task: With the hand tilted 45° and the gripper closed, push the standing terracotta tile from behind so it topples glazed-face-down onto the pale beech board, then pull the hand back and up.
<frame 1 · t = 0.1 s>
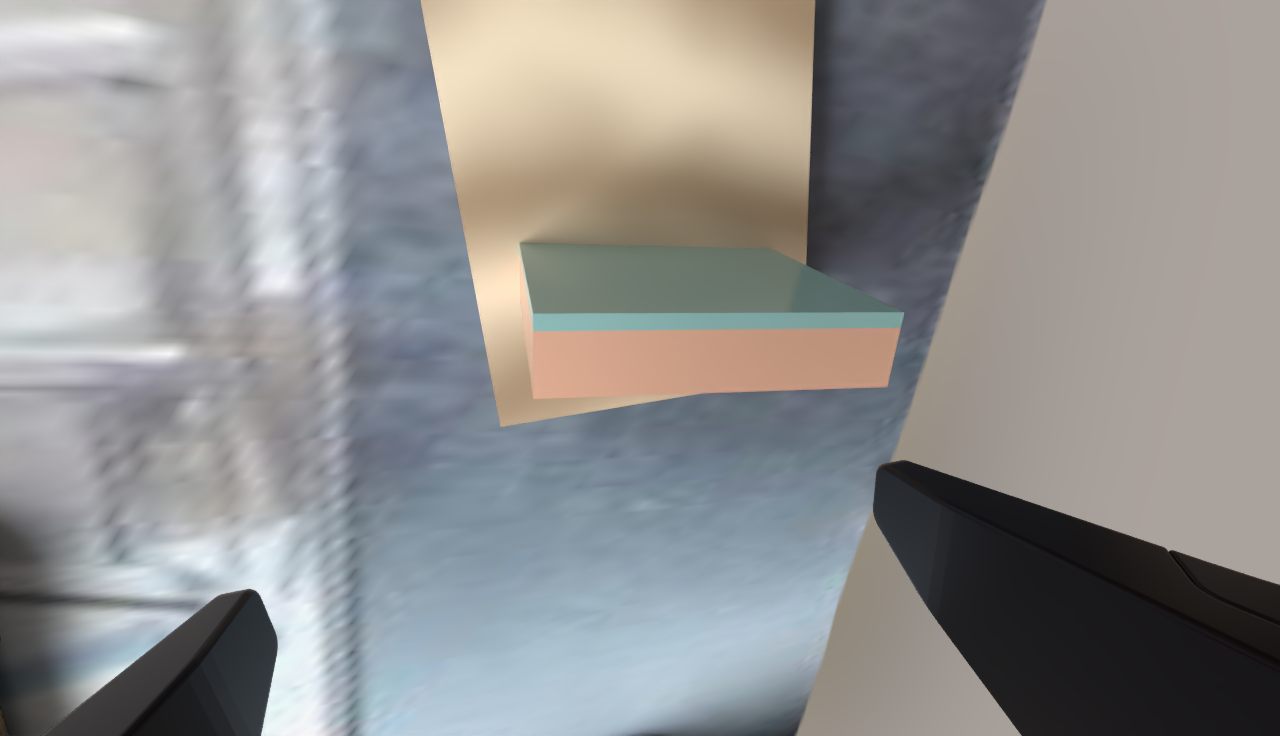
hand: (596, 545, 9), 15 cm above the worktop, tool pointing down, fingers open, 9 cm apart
beech board: (637, 204, 22), on the worktop
terracotta tile: (649, 274, 22), point 1 cm above the worktop, touching beech board
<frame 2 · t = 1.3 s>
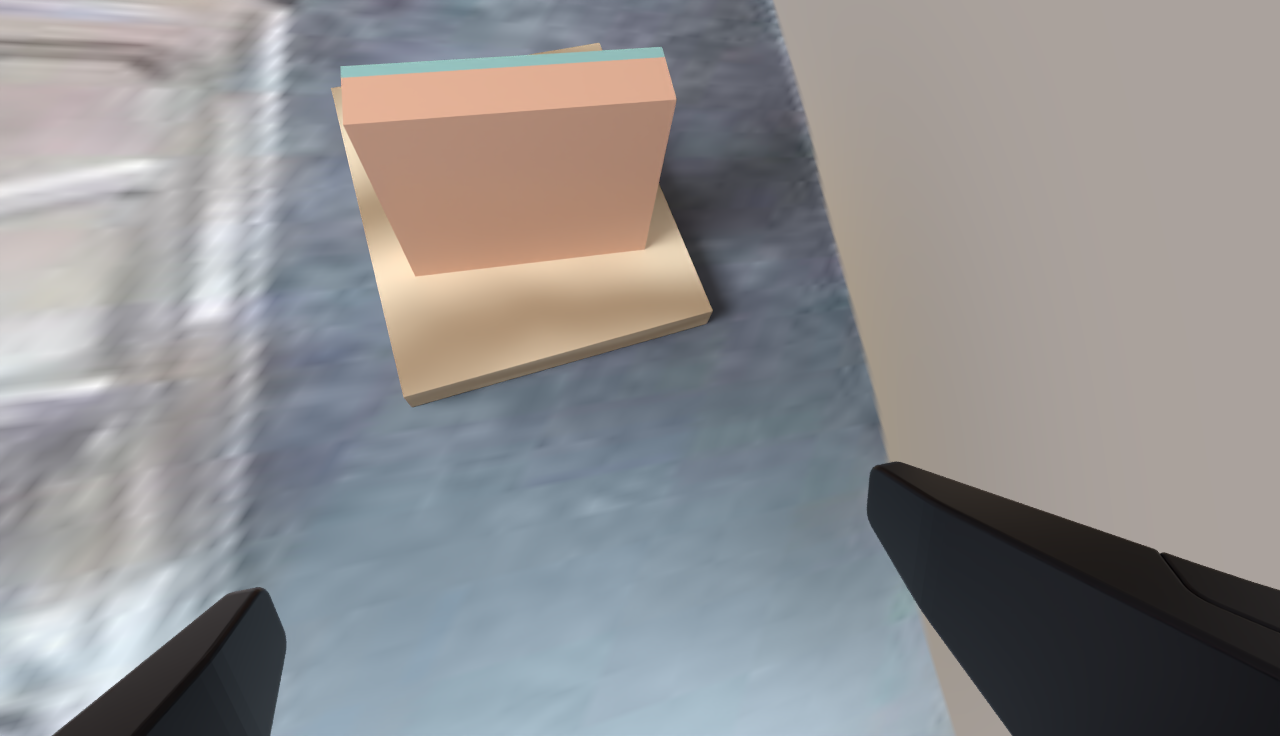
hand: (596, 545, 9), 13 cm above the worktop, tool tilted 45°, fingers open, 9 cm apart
beech board: (517, 212, 26), on the worktop
terracotta tile: (530, 240, 24), point 1 cm above the worktop, touching beech board
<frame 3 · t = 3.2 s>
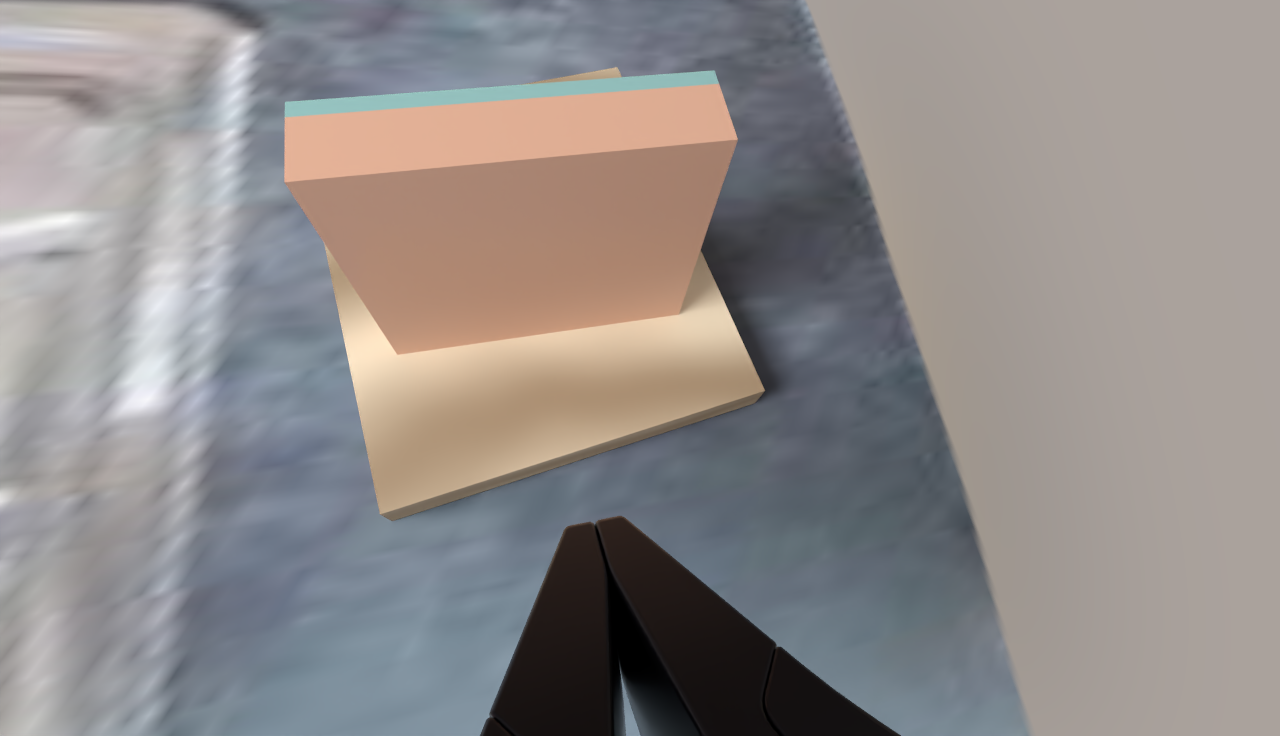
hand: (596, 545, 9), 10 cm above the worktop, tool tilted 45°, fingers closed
beech board: (522, 269, 22), on the worktop
terracotta tile: (538, 306, 20), point 1 cm above the worktop, touching beech board
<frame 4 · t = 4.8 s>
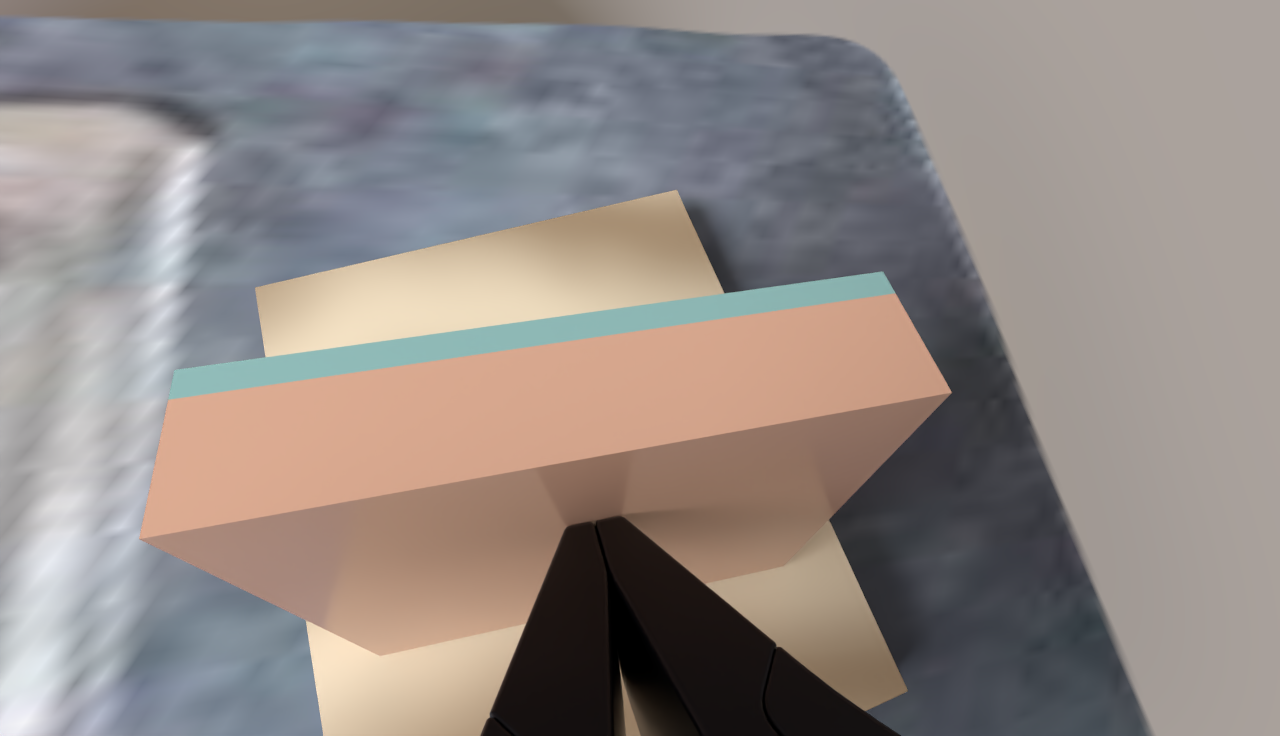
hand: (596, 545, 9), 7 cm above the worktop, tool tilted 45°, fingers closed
beech board: (558, 484, 16), on the worktop
terracotta tile: (585, 563, 14), point 1 cm above the worktop, tilted 10°, touching beech board
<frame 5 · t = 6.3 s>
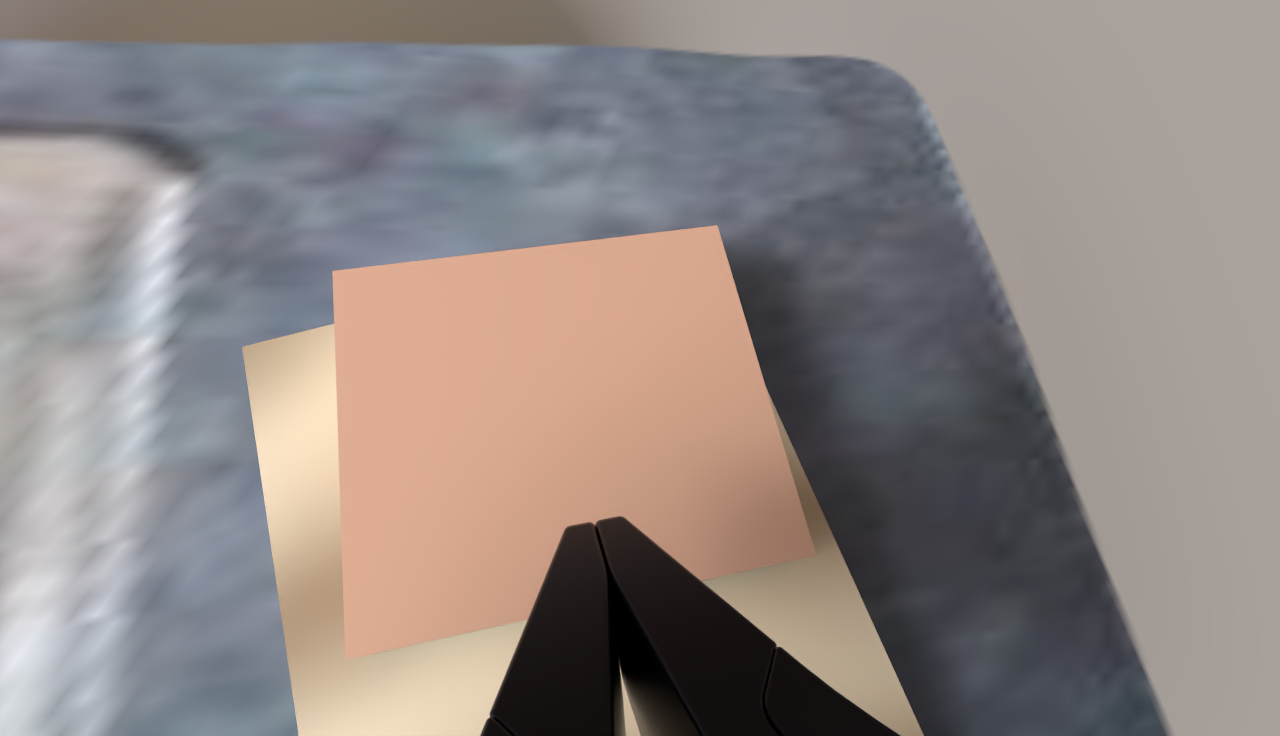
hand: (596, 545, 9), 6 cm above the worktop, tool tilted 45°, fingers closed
beech board: (570, 560, 15), on the worktop
terracotta tile: (594, 604, 12), point 2 cm above the worktop, tilted 90°, touching beech board
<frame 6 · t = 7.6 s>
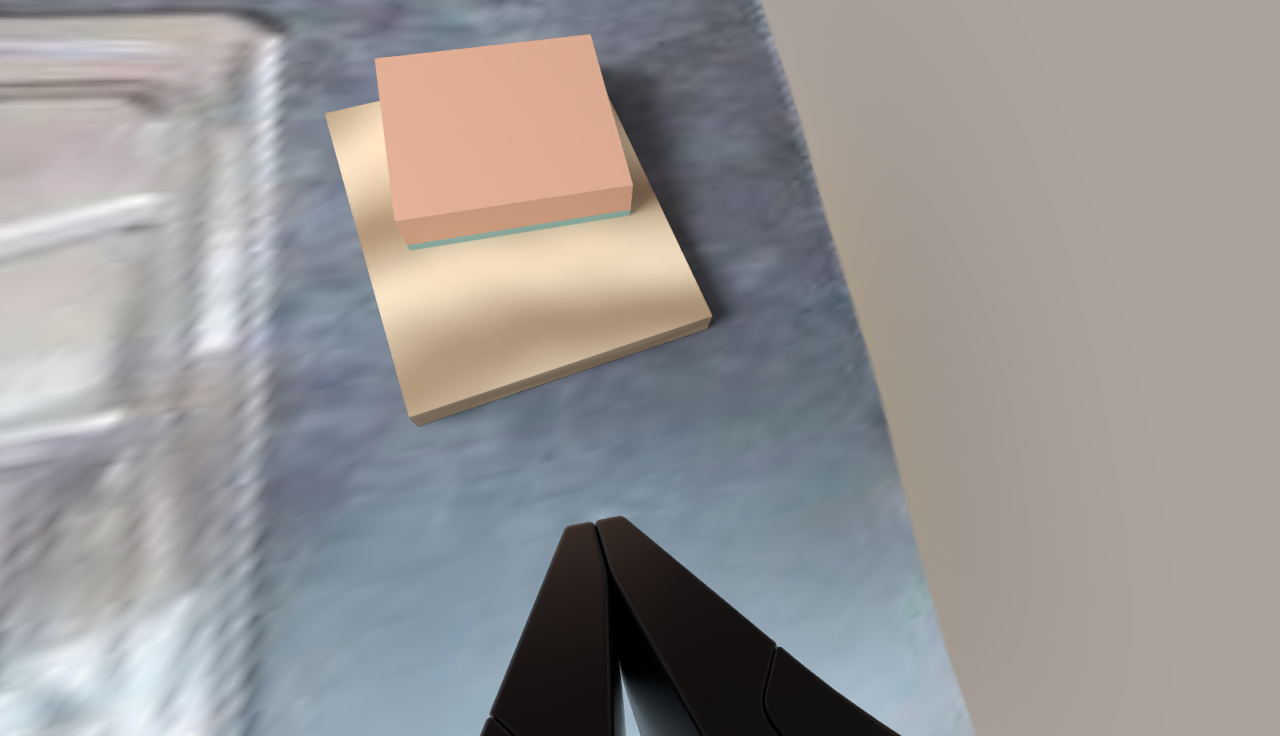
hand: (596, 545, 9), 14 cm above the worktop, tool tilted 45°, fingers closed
beech board: (513, 227, 26), on the worktop
terracotta tile: (520, 218, 24), point 2 cm above the worktop, tilted 90°, touching beech board
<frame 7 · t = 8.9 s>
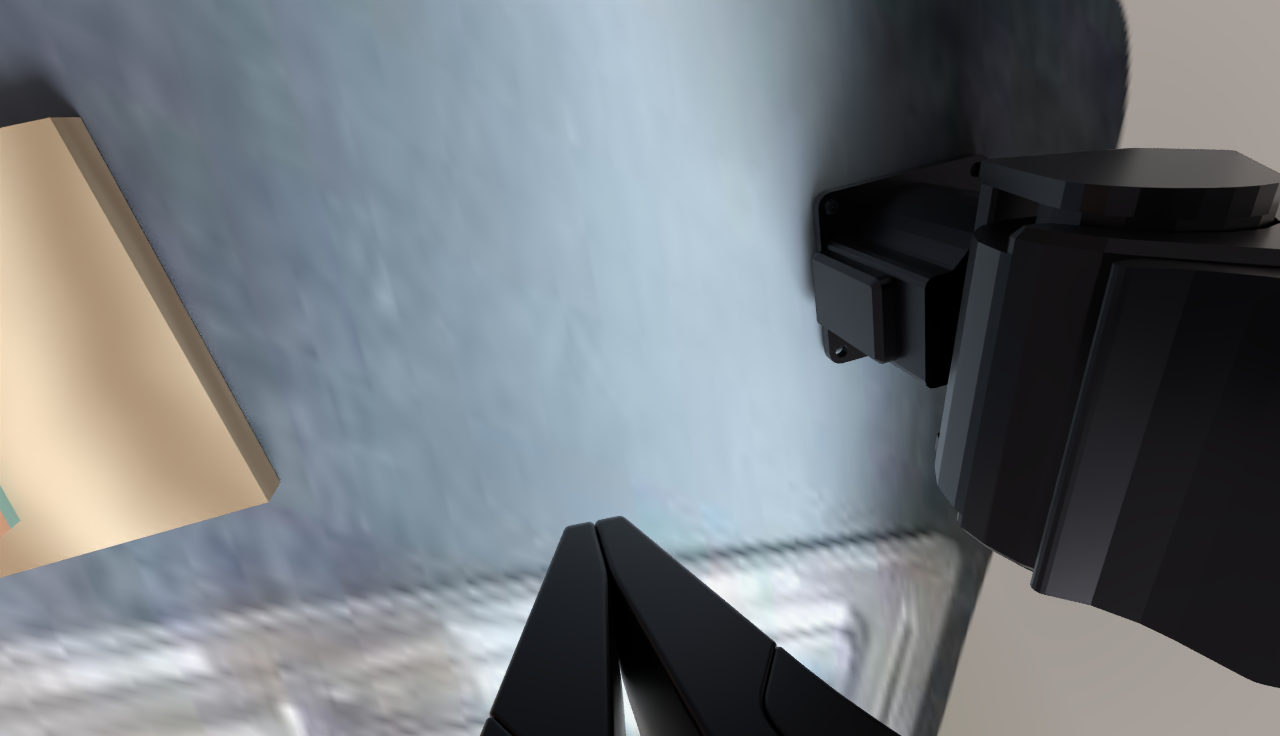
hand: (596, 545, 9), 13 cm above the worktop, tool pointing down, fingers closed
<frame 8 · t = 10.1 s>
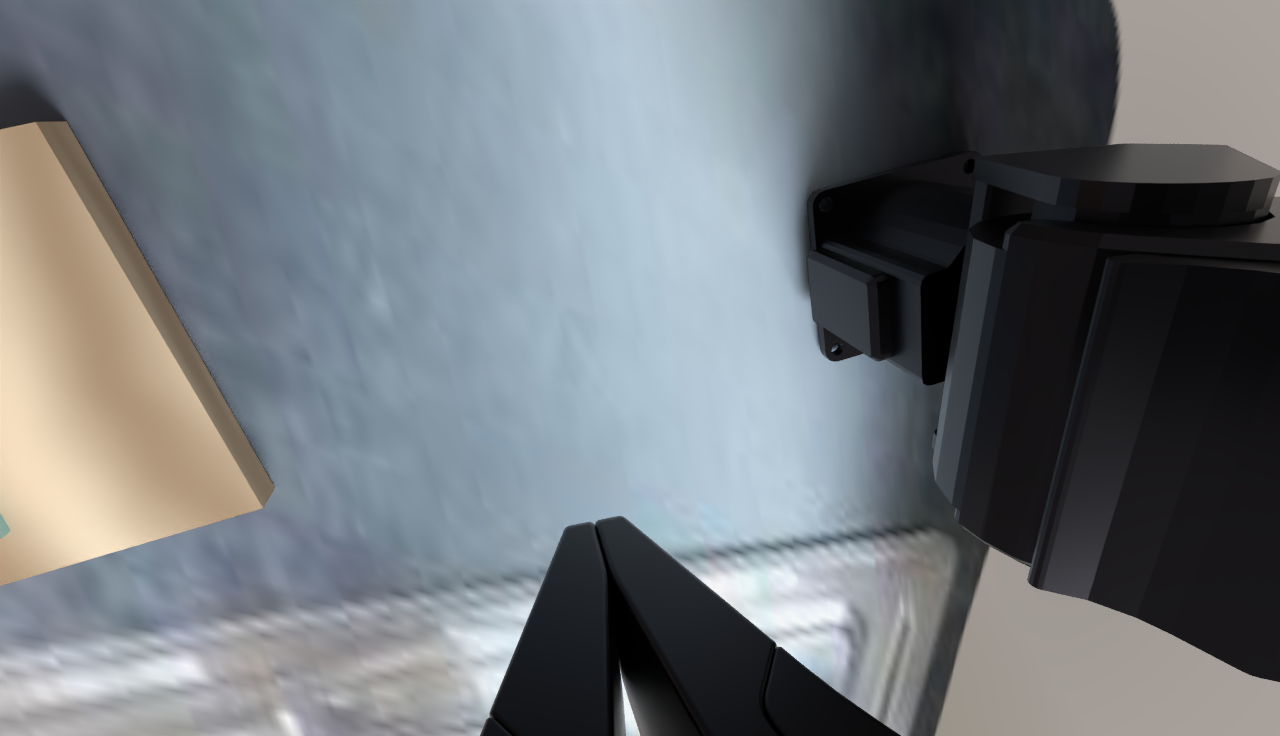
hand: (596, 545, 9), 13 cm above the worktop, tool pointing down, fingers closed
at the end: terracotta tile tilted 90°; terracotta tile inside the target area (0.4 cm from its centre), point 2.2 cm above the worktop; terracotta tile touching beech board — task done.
